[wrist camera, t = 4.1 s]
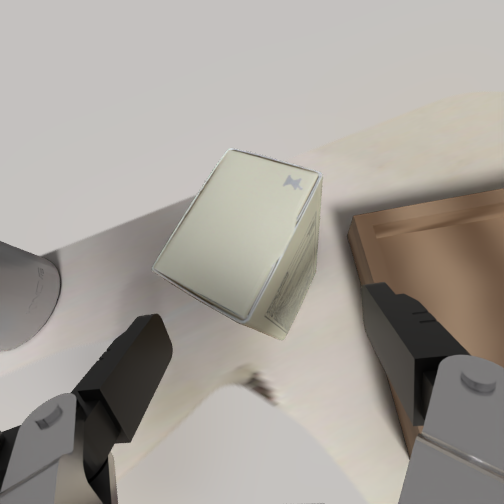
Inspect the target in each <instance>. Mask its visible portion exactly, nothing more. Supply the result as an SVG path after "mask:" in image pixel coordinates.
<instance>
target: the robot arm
mask: <svg viewBox="0 0 504 504" xmlns="http://www.w3.org/2000/svg"><path fill="white" fill-rule="evenodd" d="M59 288H60V279H59V274H58V271H57V269H56V267H55V266H54V264H53V263H52V262H50V261H49V260H47V259H45V258H42V257H39V256H37V255H34V254H32V253H29V252H26V251H24V250H21V249H19V248H16V247H13V246H11V245H8V244H6V243H4V242H1V241H0V352H1V351H8V350H11V349H14V348H16V347H18V346H20V345H22V344H23V343H25V342H27V341H28V340H29V339H30V338H31V337H33V336H34V335H35V334H36V333H37V332H38V331H39V330H40V329H41V328H42V326H43V325H44V324H45V322H46V321H47V319H48V318H49V316H50V315H51V313H52V311H53V309H54V307H55V305H56V302H57V298H58V295H59ZM361 292H362V306H363V321H364V326H365V330H366V333H367V336H368V338H369V340H370V342H371V344H372V346H373V348H374V350H375V352H376V354H377V356H378V358H379V360H380V362H381V364H382V366H383V368H384V370H385V372H386V374H387V376H388V378H389V380H390V382H391V384H392V386H393V387H394V389H395V391H396V393H397V395H398V397H399V399H400V401H401V403H402V405H403V407H404V409H405V411H406V413H407V415H408V417H409V419H410V421H411V423H412V425H413V426H424V427H423V430H422V433H421V434H420V433H418V435H417V437H416V440H415V443H414V446H413V450H412V454H411V457H410V461H409V465H408V469H407V472H406V476H405V480H404V484H403V487H402V491H401V495H400V499H399V502H398V504H504V368H503V367H501V366H499V365H497V364H495V363H494V362H491V361H489V360H486V359H483V358H480V357H476V356H471V355H470V353H469V352H468V351H467V350H466V349H465V348H464V347H463V346H462V345H461V344H460V343H459V342H458V341H457V340H456V339H455V338H454V337H453V336H452V335H451V334H450V333H449V332H448V331H447V330H446V329H445V328H444V327H443V326H442V325H441V324H440V323H439V322H437V320H436V318H435V317H434V316H433V315H432V314H431V313H429V312H428V310H427V309H426V308H425V307H424V306H423V305H422V304H421V303H420V302H419V301H418V300H416V299H414V298H412V297H410V296H408V295H406V294H404V293H403V294H395V293H394V292H393V291H392V289H391V288H390V287H389V286H388V285H387V284H386V283H385V282H379V283H372V284H365V285H362V288H361ZM172 352H173V348H172V343H171V340H170V338H169V336H168V333H167V331H166V328H165V326H164V323H163V321H162V318H161V317H160V315H158V314H151V315H144V316H139V317H137V318H136V319H135V320H134V322H133V323H132V324H131V325H130V327H129V328H128V329H127V330H126V331H125V332H124V333H123V334H121V335H120V336H119V337H118V338H116V339H115V340H114V341H113V343H112V344H111V345H110V346H109V347H108V349H107V351H106V352H104V354H103V355H102V356H101V357H100V358H99V361H97V362H96V363H95V364H94V365H93V367H92V368H91V369H90V370H89V371H88V373H87V374H86V375H85V376H84V377H83V379H82V380H81V381H80V382H79V383H78V385H77V386H76V387H75V388H74V389H73V391H72V392H71V393H65V394H61V395H58V396H56V397H54V398H52V399H50V400H48V401H46V402H45V403H43V404H42V405H41V406H39V407H38V408H37V409H36V410H34V411H33V412H32V413H31V414H30V415H29V416H28V417H27V418H26V419H25V421H24V422H23V423H22V425H20V426H17V427H14V428H12V429H9V430H6V431H4V432H1V431H0V504H118V497H117V486H116V476H115V465H114V457H113V455H112V453H111V452H110V451H111V449H112V447H113V446H114V444H115V443H130V442H131V440H132V438H133V436H134V434H135V432H136V430H137V428H138V426H139V424H140V422H141V420H142V418H143V416H144V414H145V412H146V410H147V408H148V405H149V403H150V401H151V399H152V397H153V395H154V393H155V391H156V389H157V387H158V385H159V383H160V381H161V379H162V377H163V375H164V373H165V371H166V369H167V366H168V364H169V362H170V360H171V358H172Z"/></svg>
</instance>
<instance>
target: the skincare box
mask: <svg viewBox="0 0 504 504" xmlns="http://www.w3.org/2000/svg"><path fill="white" fill-rule="evenodd" d="M322 180H323V174H322V173H321V172H319V171H316V170H312V169H308V168H304V167H301V166H298V165H294V164H291V163H288V162H284V161H281V160H277V159H273V158H270V157H267V156H263V155H259V154H255V153H251V152H247V151H242V150H238V149H235V148H229V149H228V150H227V151H226V152H225V154H224V155H223V157H222V158H221V159H220V161H219V162H218V164H217V165H216V167H215V168H214V169H213V171H212V172H211V174H210V175H209V177H208V178H207V180H206V181H205V183H204V184H203V186H202V187H201V189H200V190H199V192H198V194H197V195H196V197H195V198H194V200H193V201H192V203H191V204H190V206H189V208H188V209H187V211H186V212H185V214H184V216H183V217H182V219H181V220H180V222H179V224H178V225H177V227H176V228H175V230H174V232H173V233H172V235H171V237H170V238H169V240H168V242H167V243H166V245H165V246H164V248H163V250H162V252H161V253H160V255H159V257H158V258H157V260H156V261H155V263H154V265H153V266H152V271H153V272H154V273H155V274H157V275H159V276H160V277H162V278H164V279H165V280H167V281H168V282H170V283H171V284H173V285H174V286H176V287H177V288H179V289H181V290H182V291H184V292H185V293H187V294H189V295H190V296H192V297H194V298H195V299H197V300H199V301H200V302H202V303H204V304H205V305H207V306H209V307H211V308H212V309H214V310H216V311H218V312H220V313H221V314H223V315H225V316H227V317H228V318H230V319H232V320H234V321H235V322H237V323H239V324H242V325H244V326H247V327H250V328H252V329H254V330H257V331H259V332H262V333H264V334H267V335H269V336H272V337H274V338H276V339H279V340H284V339H285V337H286V335H287V333H288V331H289V329H290V327H291V325H292V323H293V321H294V319H295V317H296V315H297V313H298V311H299V309H300V306H301V304H302V302H303V300H304V298H305V295H306V293H307V291H308V289H309V286H310V284H311V282H312V279H313V277H314V274H315V272H316V262H317V247H318V234H319V222H320V209H321V195H322Z"/></svg>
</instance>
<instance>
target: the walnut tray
mask: <svg viewBox="0 0 504 504" xmlns="http://www.w3.org/2000/svg"><path fill="white" fill-rule="evenodd" d="M347 237H348V240H349V244H350V247H351V251H352V254H353V258H354V261H355V265H356V269H357V272H358V276H359V279H360V283H361V286H362V285H365V284H372V283H379V282H385V283H386V284H387V285H388V286H389V287H390V288H391V289H392V291H393V292H394V293H395V294H403V293H404V294H406V295H408V296H410V297H412V298H414V299H416V300H418V301H419V302H420V303H421V304H422V305H423V306H424V307H425V308H426V309H427V310H428V312H429V313H431V314H432V315H433V316H434V317H435V318H436V320H437V322H439V323H440V324H441V325H442V326H443V327H444V328H445V329H446V330H447V331H448V332H449V333H450V334H451V335H452V336H453V337H454V338H455V339H456V340H457V341H458V342H459V343H460V344H461V345H462V346H463V347H464V348H465V349H466V350H467V351H468V352H469V353H470V355H471V356H476V357H480V358H483V359H486V360H489V361H491V362H494V363H495V364H497V365H499V366H501V367H503V368H504V188H502V189H497V190H491V191H486V192H480V193H475V194H470V195H464V196H459V197H453V198H448V199H442V200H437V201H431V202H426V203H420V204H415V205H409V206H404V207H398V208H393V209H387V210H382V211H377V212H371V213H366V214H360V215H355V216H353V219H352V222H351V225H350V228H349V232H348V235H347ZM386 375H387V374H386ZM387 378H388V376H387ZM388 382H389V385H390V389H391V392H392V396H393V399H394V403H395V406H396V410H397V413H398V417H399V421H400V424H401V428H402V431H403V435H404V438H405V442H406V445H407V449H408V452H409V456H410V457H411V454H412V450H413V446H414V443H415V440H416V437H417V435H418V433H420V434H421V433H422V430H423V427H424V426H413V425H412V423H411V421H410V419H409V417H408V415H407V413H406V411H405V409H404V407H403V405H402V403H401V401H400V399H399V397H398V395H397V393H396V391H395V389H394V387H393V386H392V384H391V382H390V380H389V378H388Z"/></svg>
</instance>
